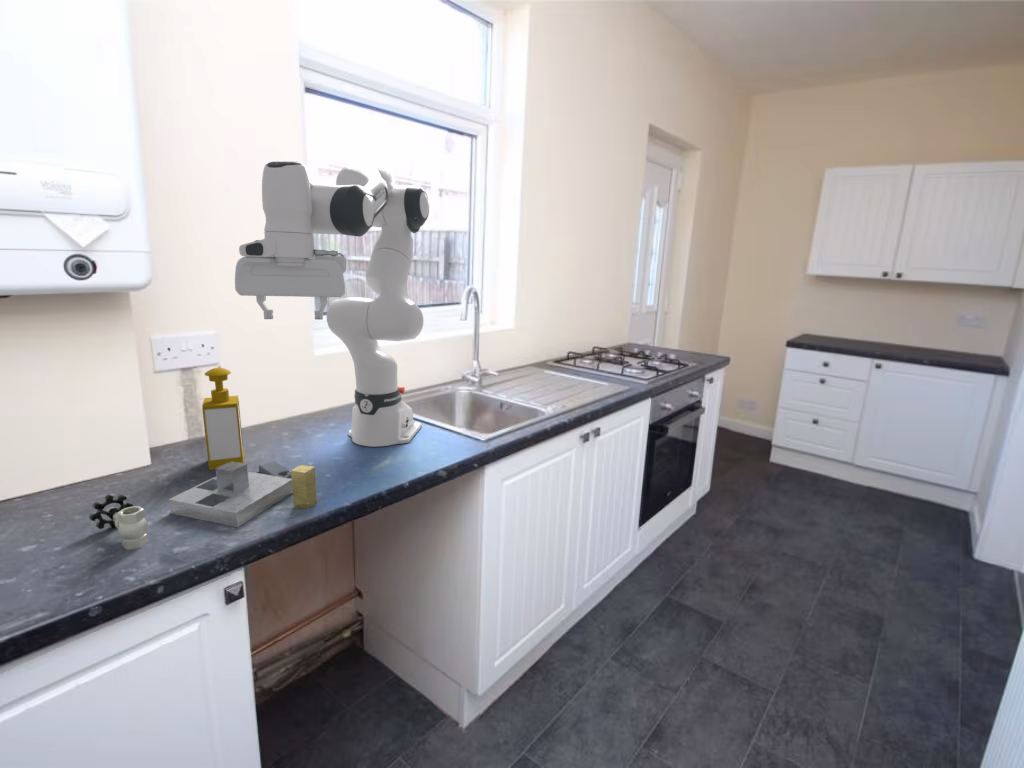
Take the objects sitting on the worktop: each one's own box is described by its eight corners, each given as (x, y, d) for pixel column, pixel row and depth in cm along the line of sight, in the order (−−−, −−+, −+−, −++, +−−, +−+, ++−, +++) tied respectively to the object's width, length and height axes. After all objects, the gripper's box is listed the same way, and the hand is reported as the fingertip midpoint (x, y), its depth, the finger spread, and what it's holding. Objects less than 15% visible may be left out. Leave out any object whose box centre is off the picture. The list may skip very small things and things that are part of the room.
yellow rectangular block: (303, 500, 111) (301, 464, 109) (316, 502, 110) (314, 466, 108) (293, 506, 108) (291, 470, 106) (307, 509, 107) (304, 472, 106)
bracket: (275, 468, 127) (274, 460, 127) (295, 481, 121) (295, 473, 120) (258, 472, 125) (258, 465, 124) (278, 487, 118) (278, 478, 117)
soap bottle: (244, 447, 138) (235, 359, 132) (243, 465, 127) (234, 370, 121) (212, 451, 135) (202, 361, 129) (209, 470, 124) (198, 372, 118)
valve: (161, 540, 95) (133, 520, 101) (156, 507, 93) (128, 488, 100) (118, 557, 89) (91, 534, 96) (112, 521, 88) (86, 500, 94)
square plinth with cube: (233, 480, 119) (229, 447, 117) (293, 491, 115) (291, 457, 113) (170, 513, 104) (165, 475, 102) (237, 527, 100) (233, 488, 98)
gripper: (346, 250, 109) (348, 317, 112) (236, 246, 104) (242, 317, 107) (345, 250, 103) (347, 321, 106) (229, 246, 98) (235, 320, 101)
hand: (294, 319), depth 107 cm, fingers open, 8 cm apart
